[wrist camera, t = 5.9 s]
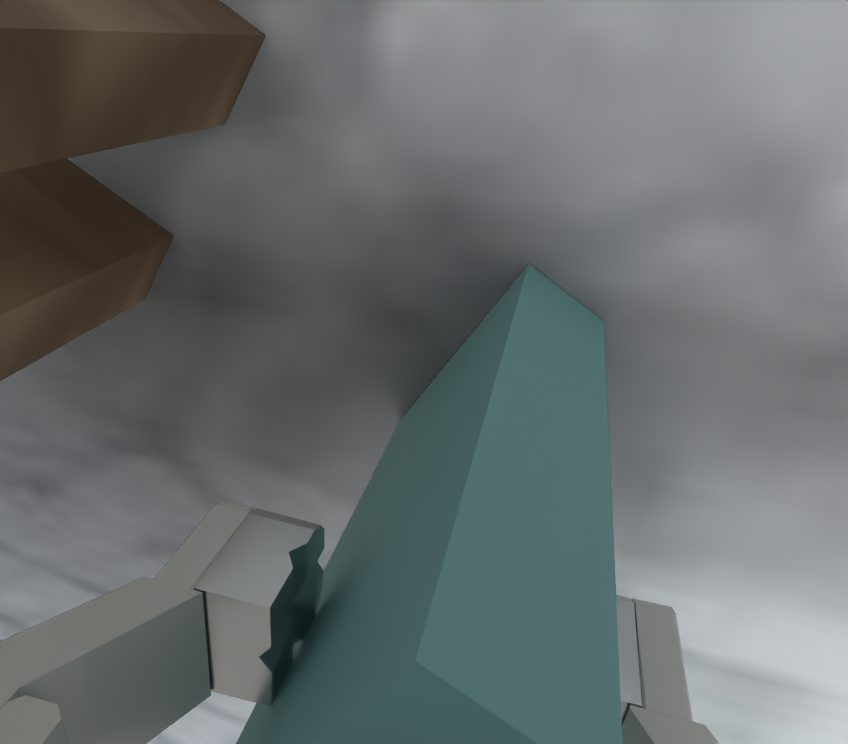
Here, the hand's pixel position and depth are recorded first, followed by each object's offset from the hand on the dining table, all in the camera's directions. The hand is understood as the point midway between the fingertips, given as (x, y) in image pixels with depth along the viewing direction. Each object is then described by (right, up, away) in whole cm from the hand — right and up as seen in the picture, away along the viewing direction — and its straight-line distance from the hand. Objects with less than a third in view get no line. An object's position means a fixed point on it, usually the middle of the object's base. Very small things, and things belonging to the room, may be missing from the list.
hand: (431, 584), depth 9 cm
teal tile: (+1, +3, +6) cm, 7 cm away
